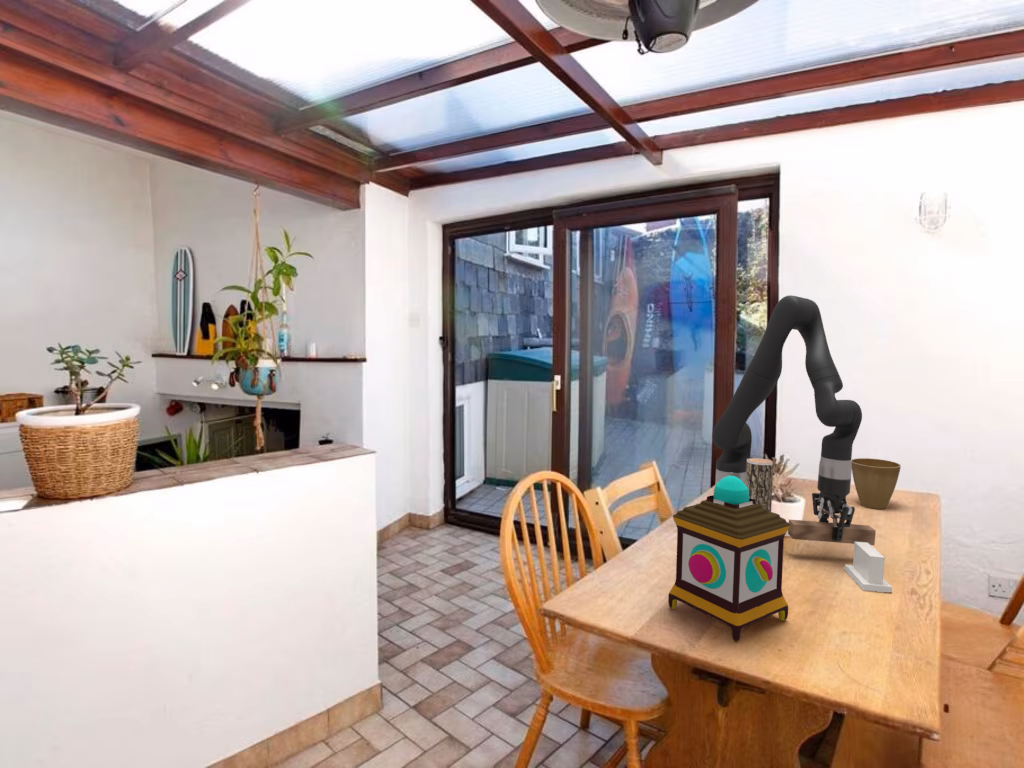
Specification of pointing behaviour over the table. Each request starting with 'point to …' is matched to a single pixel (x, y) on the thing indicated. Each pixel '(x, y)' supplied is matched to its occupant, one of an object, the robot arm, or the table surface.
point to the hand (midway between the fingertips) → (829, 536)
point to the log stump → (760, 481)
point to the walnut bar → (830, 532)
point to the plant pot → (874, 481)
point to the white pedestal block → (868, 568)
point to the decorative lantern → (730, 558)
